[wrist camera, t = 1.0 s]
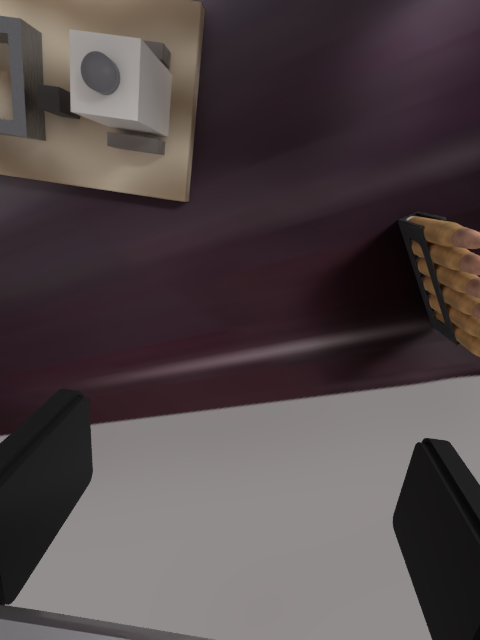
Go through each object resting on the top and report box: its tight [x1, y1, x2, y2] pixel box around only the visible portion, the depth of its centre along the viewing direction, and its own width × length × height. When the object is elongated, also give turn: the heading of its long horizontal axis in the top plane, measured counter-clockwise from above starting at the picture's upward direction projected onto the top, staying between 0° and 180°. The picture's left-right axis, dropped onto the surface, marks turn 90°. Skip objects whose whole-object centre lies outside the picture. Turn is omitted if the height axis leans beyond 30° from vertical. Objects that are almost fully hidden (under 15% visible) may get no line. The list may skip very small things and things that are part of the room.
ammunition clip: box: [398, 211, 480, 357], centre depth 27 cm, size 11×2×12 cm, turn 25°
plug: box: [69, 29, 172, 137], centre depth 25 cm, size 4×4×8 cm
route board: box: [0, 0, 205, 202], centre depth 29 cm, size 14×20×4 cm
